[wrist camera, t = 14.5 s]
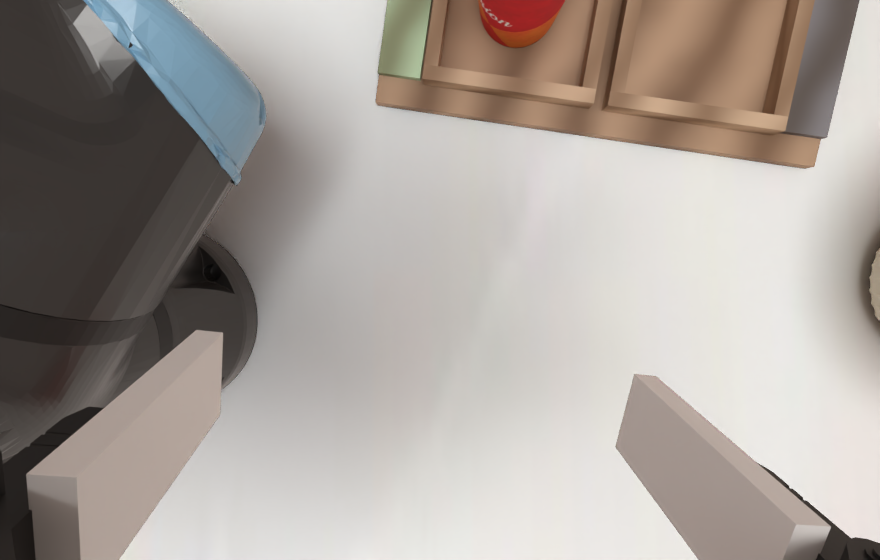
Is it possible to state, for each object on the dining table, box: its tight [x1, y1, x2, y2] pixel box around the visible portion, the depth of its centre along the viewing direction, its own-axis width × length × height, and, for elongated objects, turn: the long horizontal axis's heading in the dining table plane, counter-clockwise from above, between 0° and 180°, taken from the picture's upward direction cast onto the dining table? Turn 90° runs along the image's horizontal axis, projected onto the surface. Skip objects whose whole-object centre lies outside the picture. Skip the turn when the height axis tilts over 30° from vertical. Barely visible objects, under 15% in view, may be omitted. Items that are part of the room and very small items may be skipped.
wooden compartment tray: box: [376, 0, 859, 168], centre depth 34 cm, size 33×16×2 cm, turn 81°
